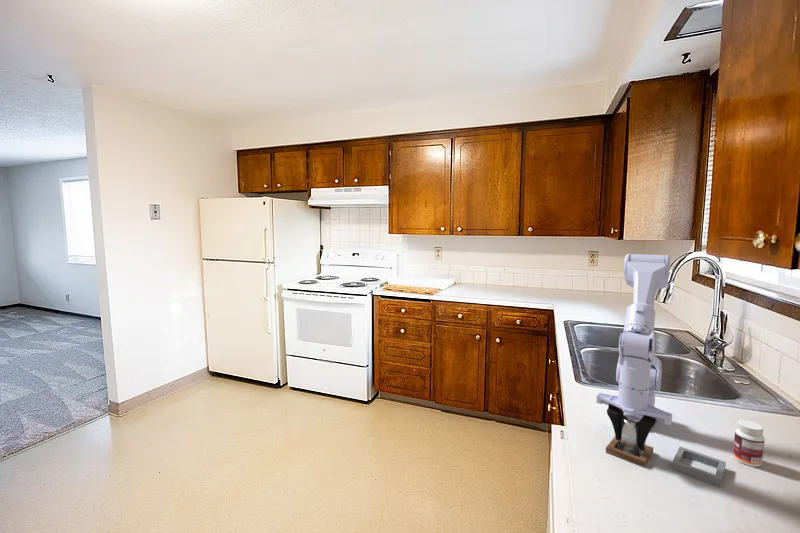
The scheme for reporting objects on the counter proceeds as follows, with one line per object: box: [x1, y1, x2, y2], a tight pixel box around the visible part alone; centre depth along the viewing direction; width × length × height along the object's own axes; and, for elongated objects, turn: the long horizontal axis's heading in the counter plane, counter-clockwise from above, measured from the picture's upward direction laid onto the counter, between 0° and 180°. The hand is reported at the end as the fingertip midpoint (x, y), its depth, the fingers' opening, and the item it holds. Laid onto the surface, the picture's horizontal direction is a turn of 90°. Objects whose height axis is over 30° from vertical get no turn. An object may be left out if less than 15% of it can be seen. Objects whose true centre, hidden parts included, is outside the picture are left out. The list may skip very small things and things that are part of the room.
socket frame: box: [605, 436, 654, 468], centre depth 87 cm, size 8×8×1 cm
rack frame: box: [671, 446, 727, 487], centre depth 81 cm, size 8×8×2 cm
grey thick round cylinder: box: [618, 415, 641, 457], centre depth 86 cm, size 4×4×8 cm
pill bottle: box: [732, 419, 765, 468], centre depth 83 cm, size 5×5×8 cm
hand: (629, 442), depth 86 cm, fingers closed on grey thick round cylinder, 4 cm apart
